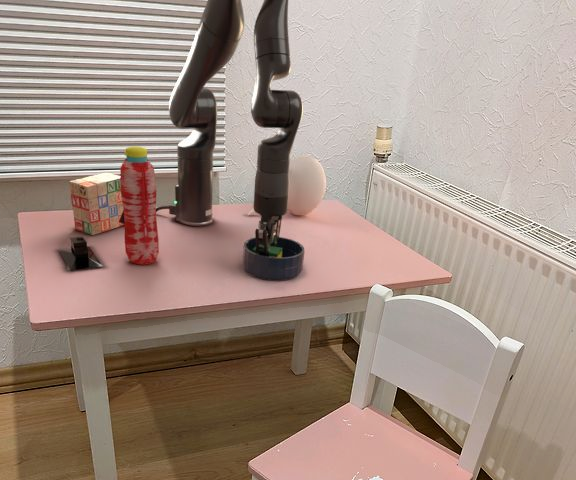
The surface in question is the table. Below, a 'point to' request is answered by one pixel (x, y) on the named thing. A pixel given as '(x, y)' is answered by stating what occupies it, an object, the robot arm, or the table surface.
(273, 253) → the sponge
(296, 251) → the bowl
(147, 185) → the water bottle
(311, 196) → the stuffed toy
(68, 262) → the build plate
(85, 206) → the stack of blocks
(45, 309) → the table surface
